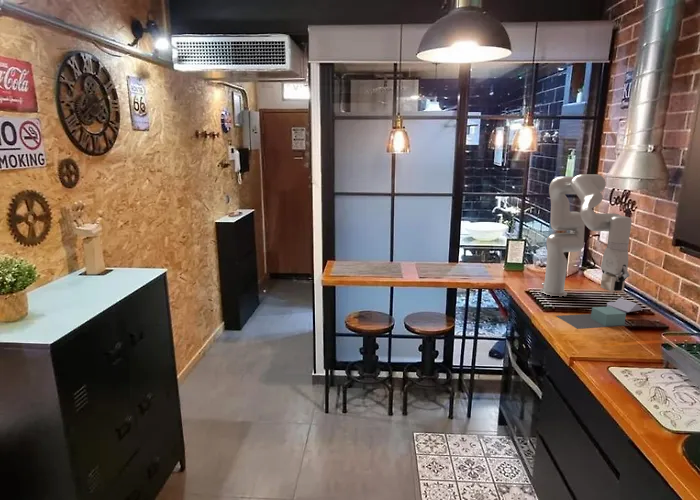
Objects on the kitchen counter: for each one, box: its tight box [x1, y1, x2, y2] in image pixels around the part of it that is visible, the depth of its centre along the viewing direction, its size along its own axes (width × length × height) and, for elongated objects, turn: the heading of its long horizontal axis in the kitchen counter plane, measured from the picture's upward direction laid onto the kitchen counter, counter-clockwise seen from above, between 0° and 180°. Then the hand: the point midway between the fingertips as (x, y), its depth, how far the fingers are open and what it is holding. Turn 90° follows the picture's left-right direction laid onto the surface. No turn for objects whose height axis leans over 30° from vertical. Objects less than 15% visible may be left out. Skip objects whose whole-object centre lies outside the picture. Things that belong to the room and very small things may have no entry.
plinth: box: [590, 306, 627, 326], centre depth 195 cm, size 9×9×5 cm
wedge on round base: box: [606, 297, 644, 314], centre depth 208 cm, size 9×7×13 cm
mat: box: [556, 313, 630, 330], centre depth 197 cm, size 15×24×1 cm, turn 99°
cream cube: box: [600, 273, 626, 293], centre depth 192 cm, size 6×6×6 cm
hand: (612, 287), depth 192 cm, fingers closed on cream cube, 6 cm apart
